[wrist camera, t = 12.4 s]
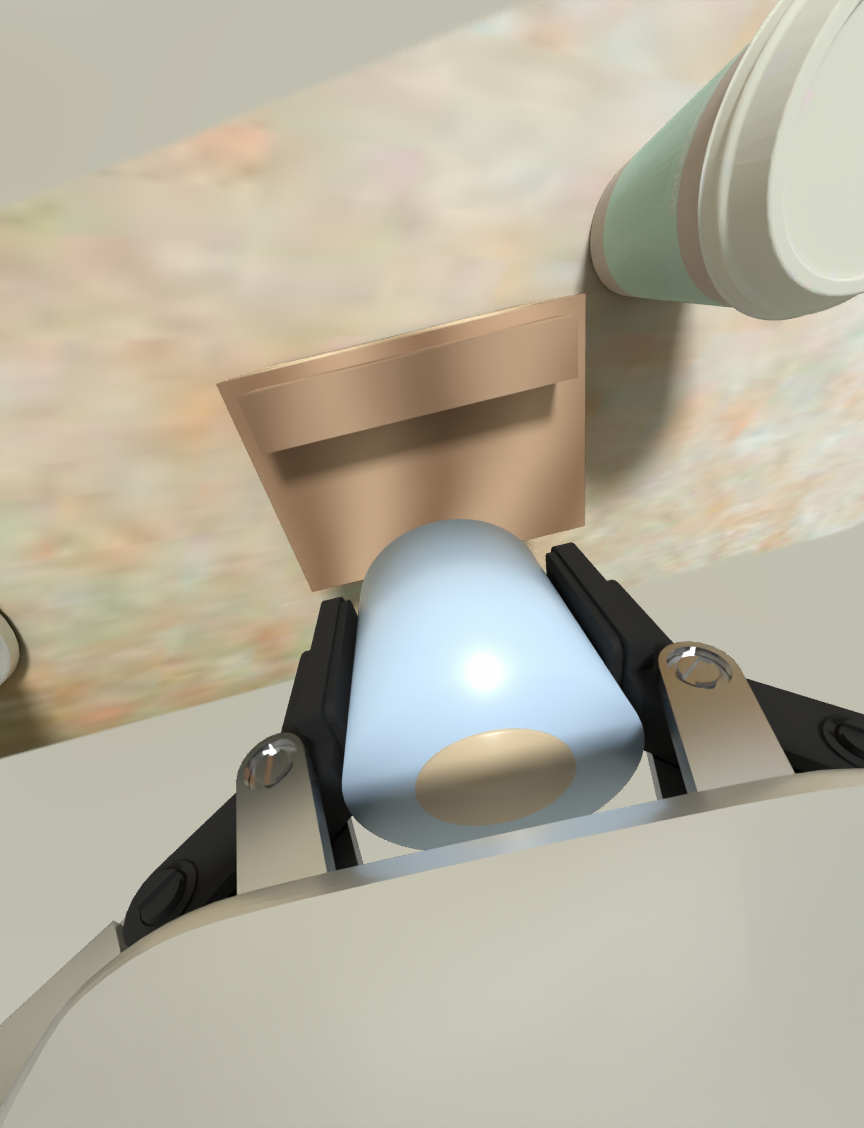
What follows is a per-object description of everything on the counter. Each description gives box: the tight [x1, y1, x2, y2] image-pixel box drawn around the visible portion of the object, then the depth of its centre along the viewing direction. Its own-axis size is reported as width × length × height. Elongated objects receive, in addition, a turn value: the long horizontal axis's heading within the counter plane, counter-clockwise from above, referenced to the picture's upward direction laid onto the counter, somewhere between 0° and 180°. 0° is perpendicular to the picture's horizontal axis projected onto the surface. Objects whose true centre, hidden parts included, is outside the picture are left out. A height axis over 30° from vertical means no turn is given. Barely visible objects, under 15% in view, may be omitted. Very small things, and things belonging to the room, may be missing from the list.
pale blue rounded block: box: [342, 519, 644, 851], centre depth 10 cm, size 6×6×6 cm
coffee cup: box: [590, 0, 864, 320], centre depth 15 cm, size 8×8×12 cm
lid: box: [216, 293, 586, 592], centre depth 17 cm, size 14×10×3 cm
